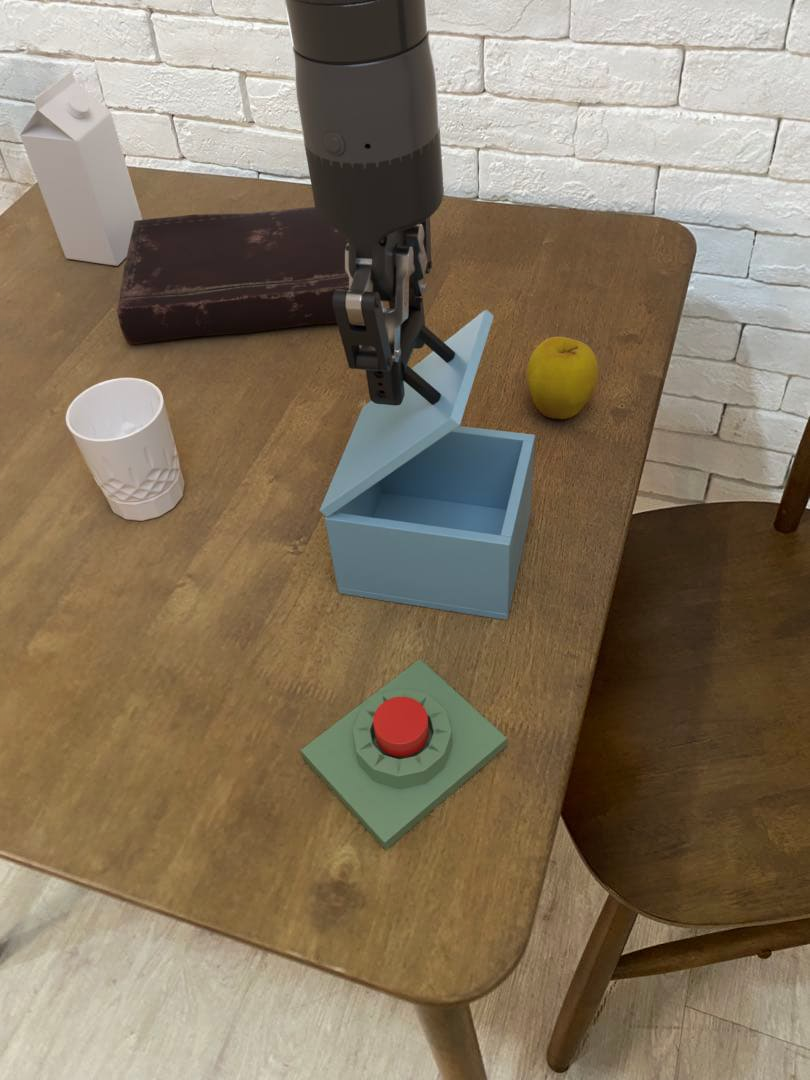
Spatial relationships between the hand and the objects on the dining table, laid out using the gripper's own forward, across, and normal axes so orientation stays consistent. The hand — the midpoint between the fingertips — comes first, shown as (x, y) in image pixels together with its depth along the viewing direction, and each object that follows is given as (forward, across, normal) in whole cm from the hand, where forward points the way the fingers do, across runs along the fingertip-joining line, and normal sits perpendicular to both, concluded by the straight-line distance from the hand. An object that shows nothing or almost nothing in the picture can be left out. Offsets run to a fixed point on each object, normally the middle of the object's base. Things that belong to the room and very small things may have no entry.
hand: (399, 371), depth 64 cm
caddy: (+18, 0, -1) cm, 18 cm away
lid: (+4, 0, 0) cm, 4 cm away
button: (+16, -18, -3) cm, 24 cm away
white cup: (+18, +2, +25) cm, 31 cm away
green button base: (+18, -18, -3) cm, 26 cm away
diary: (+18, +34, +27) cm, 47 cm away
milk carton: (+17, +39, +48) cm, 64 cm away
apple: (+19, +19, -9) cm, 28 cm away
